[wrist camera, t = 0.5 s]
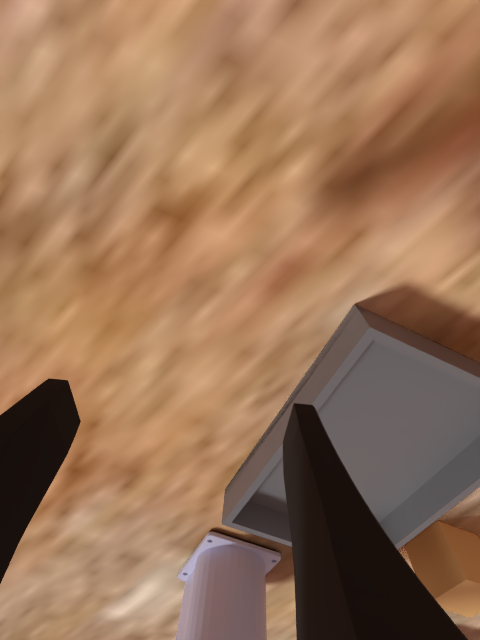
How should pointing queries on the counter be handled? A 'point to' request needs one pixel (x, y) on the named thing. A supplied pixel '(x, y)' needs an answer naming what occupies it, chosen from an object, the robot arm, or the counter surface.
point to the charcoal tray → (375, 430)
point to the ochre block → (448, 566)
